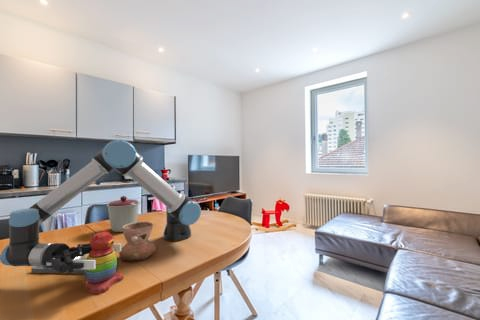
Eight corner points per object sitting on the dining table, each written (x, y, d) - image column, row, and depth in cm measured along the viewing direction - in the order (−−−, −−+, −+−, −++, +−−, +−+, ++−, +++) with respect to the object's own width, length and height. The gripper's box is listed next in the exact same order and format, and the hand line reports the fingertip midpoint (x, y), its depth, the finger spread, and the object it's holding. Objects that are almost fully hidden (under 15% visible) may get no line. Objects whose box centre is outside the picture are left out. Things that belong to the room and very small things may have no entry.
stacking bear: (102, 294, 69) (101, 238, 69) (75, 291, 71) (75, 237, 71) (126, 277, 80) (125, 228, 80) (102, 274, 82) (102, 227, 82)
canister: (102, 230, 135) (102, 196, 135) (132, 223, 149) (132, 193, 149) (113, 236, 123) (113, 199, 123) (144, 229, 137) (144, 195, 137)
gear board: (115, 256, 97) (115, 245, 98) (91, 273, 82) (91, 260, 83) (64, 255, 99) (64, 244, 99) (31, 272, 84) (31, 259, 84)
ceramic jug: (152, 263, 90) (153, 228, 91) (113, 267, 87) (114, 231, 87) (157, 247, 108) (157, 218, 108) (125, 250, 104) (125, 220, 104)
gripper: (78, 250, 89) (129, 251, 88) (11, 285, 64) (80, 287, 63) (78, 232, 89) (129, 232, 88) (11, 260, 64) (80, 261, 63)
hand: (109, 255), depth 75 cm, fingers open, 13 cm apart
